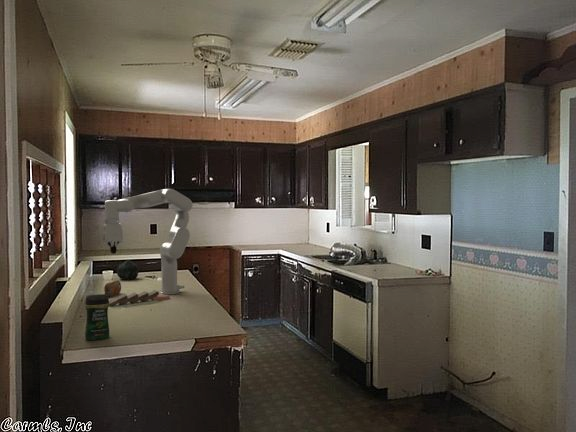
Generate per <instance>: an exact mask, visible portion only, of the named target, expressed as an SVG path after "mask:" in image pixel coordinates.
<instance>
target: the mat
mask: <svg viewBox="0 0 576 432" xmlns="http://www.w3.org/2000/svg"><path fill="white" fill-rule="evenodd" d="M159 302H160V300H158V301H153V300H150V299H149V300H147V301H145V302H142V301H138V302H136V303H134V304H132V303H130V302H128V303H126V304H124V305H120V304H119V303H118V304H116V305H114V306H112V307H110V306H109V307H108V310H111V309H117V308H123V307H124V308H125V307H131V306H137V305H138V306H139V305H145V304H146V305H147V304H152V303H159Z"/></svg>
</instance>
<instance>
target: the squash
mask: <svg viewBox="0 0 576 432" xmlns="http://www.w3.org/2000/svg"><path fill="white" fill-rule="evenodd" d="M116 274H117V277H118V278H119V279H121V280H127V281H132V280H135V279H137V277H138V276H139V267H138V265H137V264H136V263H135V262H134V261H132V260H130V259H128V260H125V261H123V262H122V263H120V264H119V265H118V267H117V269H116Z"/></svg>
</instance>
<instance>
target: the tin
mask: <svg viewBox="0 0 576 432" xmlns="http://www.w3.org/2000/svg"><path fill="white" fill-rule="evenodd" d="M103 289H104V294H107V295H108V298H109V297H110V298H111V297H114V296H116V295H117V296H118V295H119V294H120V293H121V292H122V291H121V290H122V284H121V281H119V280H112V281H109V282H107V283H106V284H105V285H104V288H103Z"/></svg>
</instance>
